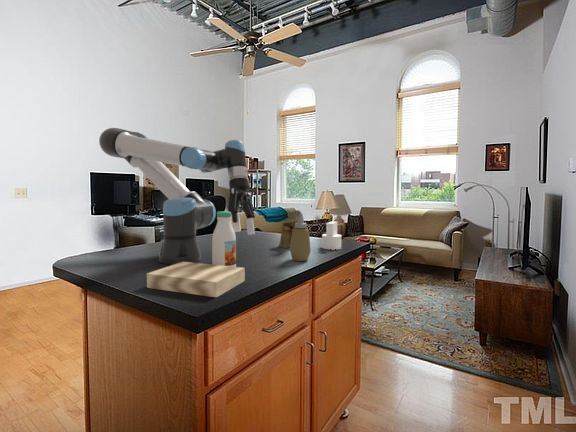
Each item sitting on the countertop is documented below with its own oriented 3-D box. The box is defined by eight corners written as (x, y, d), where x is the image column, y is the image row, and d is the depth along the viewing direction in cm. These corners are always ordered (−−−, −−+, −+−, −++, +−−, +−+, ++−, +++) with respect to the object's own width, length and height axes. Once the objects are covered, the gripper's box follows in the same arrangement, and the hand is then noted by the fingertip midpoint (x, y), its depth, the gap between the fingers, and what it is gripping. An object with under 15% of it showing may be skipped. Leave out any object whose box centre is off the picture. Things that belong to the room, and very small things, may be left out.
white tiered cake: (325, 245, 163) (325, 221, 162) (343, 247, 159) (343, 222, 158) (319, 248, 155) (320, 222, 154) (338, 250, 151) (339, 224, 150)
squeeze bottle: (310, 258, 133) (311, 213, 132) (310, 262, 125) (311, 215, 124) (290, 257, 134) (291, 212, 133) (288, 261, 126) (289, 214, 125)
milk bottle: (215, 276, 105) (215, 212, 103) (209, 270, 112) (209, 211, 110) (239, 273, 109) (239, 212, 107) (231, 268, 115) (231, 210, 114)
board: (147, 287, 92) (146, 273, 92) (183, 273, 107) (182, 261, 107) (216, 297, 85) (216, 282, 85) (244, 280, 100) (244, 267, 100)
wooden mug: (288, 250, 148) (289, 210, 147) (275, 245, 160) (276, 208, 159) (306, 249, 152) (306, 210, 151) (292, 244, 164) (292, 208, 163)
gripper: (233, 169, 118) (240, 228, 114) (258, 184, 141) (264, 233, 138) (214, 173, 119) (220, 232, 116) (242, 187, 143) (247, 236, 140)
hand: (244, 233), depth 127 cm, fingers open, 13 cm apart
